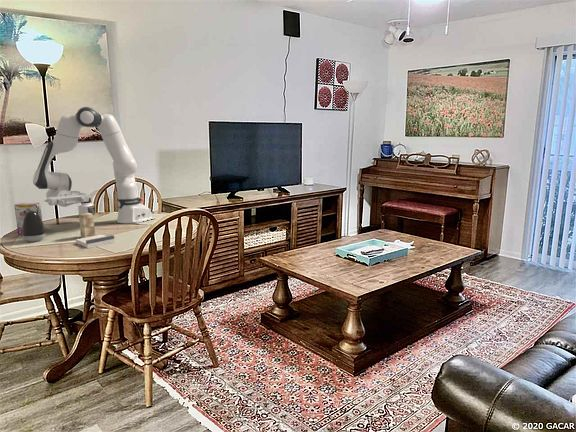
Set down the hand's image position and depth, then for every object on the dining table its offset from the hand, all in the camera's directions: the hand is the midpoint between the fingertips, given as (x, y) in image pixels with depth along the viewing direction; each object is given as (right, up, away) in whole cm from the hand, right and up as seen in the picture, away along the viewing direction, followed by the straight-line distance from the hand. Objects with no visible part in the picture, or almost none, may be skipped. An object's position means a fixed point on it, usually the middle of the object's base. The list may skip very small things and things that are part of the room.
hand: (74, 201), depth 228 cm
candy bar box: (-25, -17, +4) cm, 31 cm away
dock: (+19, -21, -16) cm, 32 cm away
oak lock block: (+9, -19, -4) cm, 21 cm away
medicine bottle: (-15, -8, +48) cm, 51 cm away
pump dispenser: (-14, -20, -11) cm, 27 cm away
